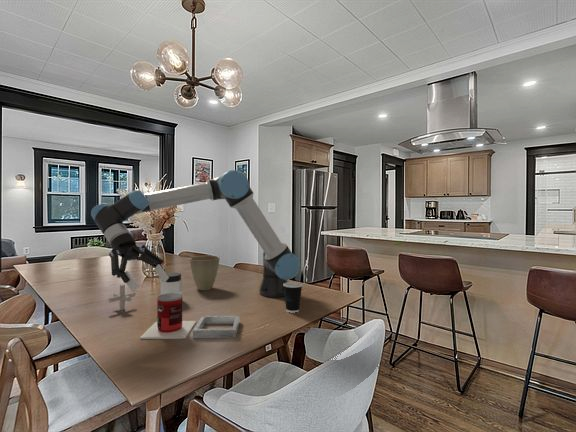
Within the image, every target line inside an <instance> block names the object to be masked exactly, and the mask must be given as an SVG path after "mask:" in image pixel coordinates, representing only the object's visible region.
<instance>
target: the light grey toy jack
mask: <svg viewBox="0 0 576 432" xmlns="http://www.w3.org/2000/svg"><path fill="white" fill-rule="evenodd" d="M125 292H126V284H125V283H124V284H119V293H118V292H114V294H113V295H112V297H108V303H115V302H118V301H119V311H124V310H126V308H125V307H126V302H131V301H132V298H134V297H136V292H135V291H133V292H130V293H125Z"/></svg>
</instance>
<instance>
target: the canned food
mask: <svg viewBox="0 0 576 432" xmlns="http://www.w3.org/2000/svg"><path fill="white" fill-rule="evenodd" d="M156 305H157V308H156V310H157V315H156V316H157V317H156V318H157V328H158V330H159V331H160V332H174V331H177V330H179V329H181V327H182V321H183V294H182V295H181V294H178V293H169V294H163V295H161V294H160V295H158V296H157V304H156Z"/></svg>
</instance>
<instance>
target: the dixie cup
mask: <svg viewBox="0 0 576 432" xmlns="http://www.w3.org/2000/svg"><path fill="white" fill-rule="evenodd" d="M283 285H284V292H285V296H284V300H285V301H284V302H285V309H286V312H287V313H289V312H290V314H296V313H295V312H297V313H298V312H299V310H300V305H301V296H302V288H303V285H304V284H303V283H301V282H296V281H289V282H287V283H284V284H283Z"/></svg>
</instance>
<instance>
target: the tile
mask: <svg viewBox="0 0 576 432" xmlns="http://www.w3.org/2000/svg"><path fill="white" fill-rule="evenodd" d="M196 321H197V320H182V327H181V329H179V330H177V331H174V332H160V331H159V330H158V328H157V321H155V322H154V323H153V324H152V325H151V326H150V327H149V328H148V329H147V330H145V332H144V333H143V334H142V335H141V336H140V337H139V340H182V339H183V340H185V339H186V338H187V337H188V335H190V332H192V330H193V329H194V327H195V326H196V323H197V322H196Z"/></svg>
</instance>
